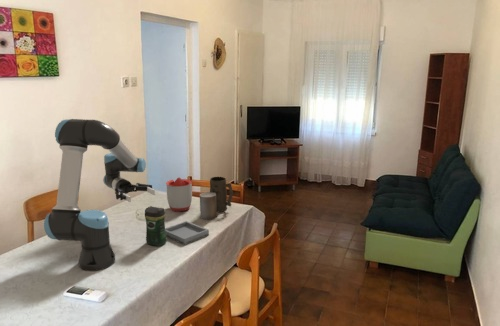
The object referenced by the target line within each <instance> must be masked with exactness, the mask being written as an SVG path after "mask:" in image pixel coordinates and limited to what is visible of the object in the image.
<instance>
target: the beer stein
mask: <svg viewBox="0 0 500 326" xmlns="http://www.w3.org/2000/svg"><path fill="white" fill-rule="evenodd" d="M209 185H210V186H209V192H213V193H216V204H217V205H216V206H217V213H221V212H225V211H227V209H228V207H232V199H233V196H234V191H233V187H232V183H231V182H228V183H227V179H226V178H225V177H224V176H223V177H222V176H214V177H213V176H212V177H211V178H210V179H209ZM227 189H229V190H227ZM227 191H229V193H228V192H227ZM228 195H229V196H228Z"/></svg>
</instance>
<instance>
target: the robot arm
mask: <svg viewBox="0 0 500 326" xmlns="http://www.w3.org/2000/svg"><path fill="white" fill-rule="evenodd" d="M54 138H55V141H56V143H57V144H58V145H59V149H61V150H62V156H61V161H60V162H61V163H60V172H59V180H58V187H57V188H58V189H57V197H56V205H55V206H53V207H52V208H51V212H49V213H48V214H46V216H45V219H44V221H43V228H44V233H45V234H46V236H47V237H48V238H50V239H51V240H57V241H71V242H72V241H73V242H74V241H75V242H81V245H80V246H81V250H80V254H79V258H78V266H79V268H80V269H81V270H84V271H88V272H89V271H92V272H93V271H100V270H104V269H107V268H108V267H110V266H112V265H113V264H114V263H115V262H116V255H115V252H114V250H113V248H112V246H111V244H110V243H111V240H110V230H109V229H110V227H109V218H108V215H107V213H106V212H104V211H102V210H98V209H90V210H89V209H86V210H82V211H81V208H80V207H79V206H78V205H79V195H80V186H81V180H82V179H81V176H82V170H83V169H82V168H83V160H84V154H85V152H87V151H88V146H95V147H96V146H98V147H101V148H103V149H104V150H108V151H109V152H110V153H107V154H104V156H103V158H104V159H103V160H104V161H103V162H104V163H103V164H104V170H105V171H104V172H105V175H104V176H103V180H102V181H103V184H104V185H105V186H106V187H108V188H110V189H112V190H114V194H115V198H116V200H119V199H120V201H123V200H125V201H127V202H129V203H131V202H132V198H131V196H130V195H128V193H133V192H135V193H136V192H147V193H148V194H150V195H153V196H155V195H156V190H155V189H154V188H153V185H152V184H146V183H145V184H144V183H140V182H136V184H132V183H131V181H129V180H127V179H125V178H123V177H121V172H123V173H124V172H125V173H126V172H127V173H129V172H130V173H143V172H145V170H146V168H147V167H146V166H147V165H146V164H147V163H146V162H147V161H146V160H145V158H141V157H137V156H136V155H135V154H134V153H133V151H131V150H130V148H129V147H128V146H127V145H126V144H125V142H124V141H123V140H121V136H120V134H119V133H118V132H117V131H116V130H115V128H114V127H111V126H110V125H108V124H107V123H105V122H103V121H100V120H97V119H83V118H81V119H80V118H69V119H63V120H61V121H60V122H58V124H57V125H56V127H55V131H54Z"/></svg>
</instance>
